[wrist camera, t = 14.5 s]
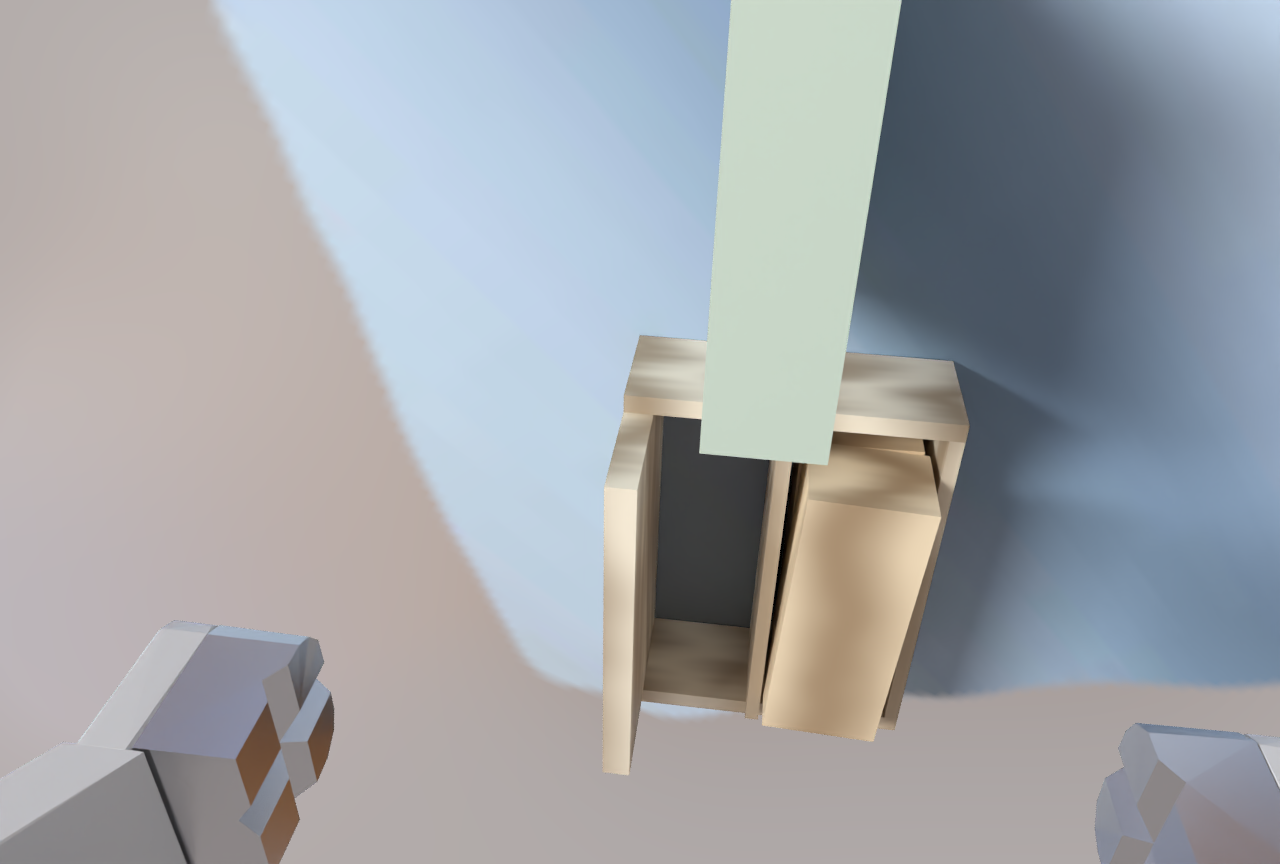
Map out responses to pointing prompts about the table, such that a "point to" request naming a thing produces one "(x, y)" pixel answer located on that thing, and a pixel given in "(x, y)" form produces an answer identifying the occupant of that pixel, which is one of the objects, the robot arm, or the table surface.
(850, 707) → the upper offcut
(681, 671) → the box
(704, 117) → the table surface
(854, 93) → the sheet
